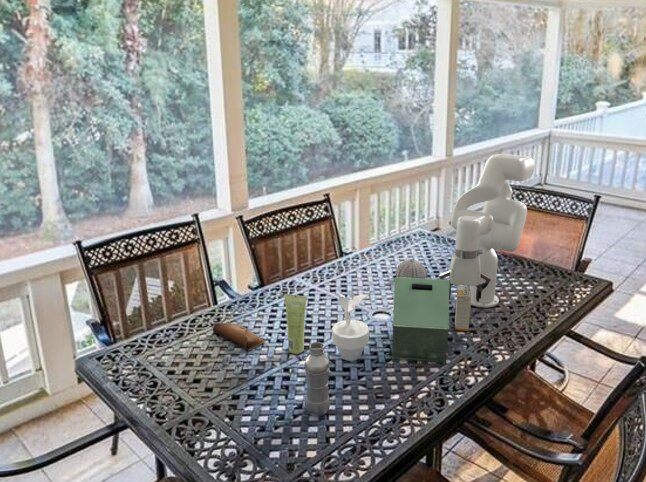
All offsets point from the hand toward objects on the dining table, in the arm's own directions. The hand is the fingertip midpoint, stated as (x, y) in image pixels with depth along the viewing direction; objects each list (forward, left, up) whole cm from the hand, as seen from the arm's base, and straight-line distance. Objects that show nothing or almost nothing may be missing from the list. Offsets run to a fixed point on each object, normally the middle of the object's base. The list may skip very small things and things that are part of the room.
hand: (463, 299), depth 184 cm
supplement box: (0, 0, -10) cm, 10 cm away
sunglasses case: (+17, -75, -10) cm, 77 cm away
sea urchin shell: (-37, -18, -10) cm, 43 cm away
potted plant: (+24, -36, -10) cm, 44 cm away
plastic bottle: (+52, -42, -10) cm, 67 cm away
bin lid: (+21, -15, +9) cm, 27 cm away
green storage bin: (+18, -15, -10) cm, 25 cm away
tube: (+23, -54, -10) cm, 59 cm away
